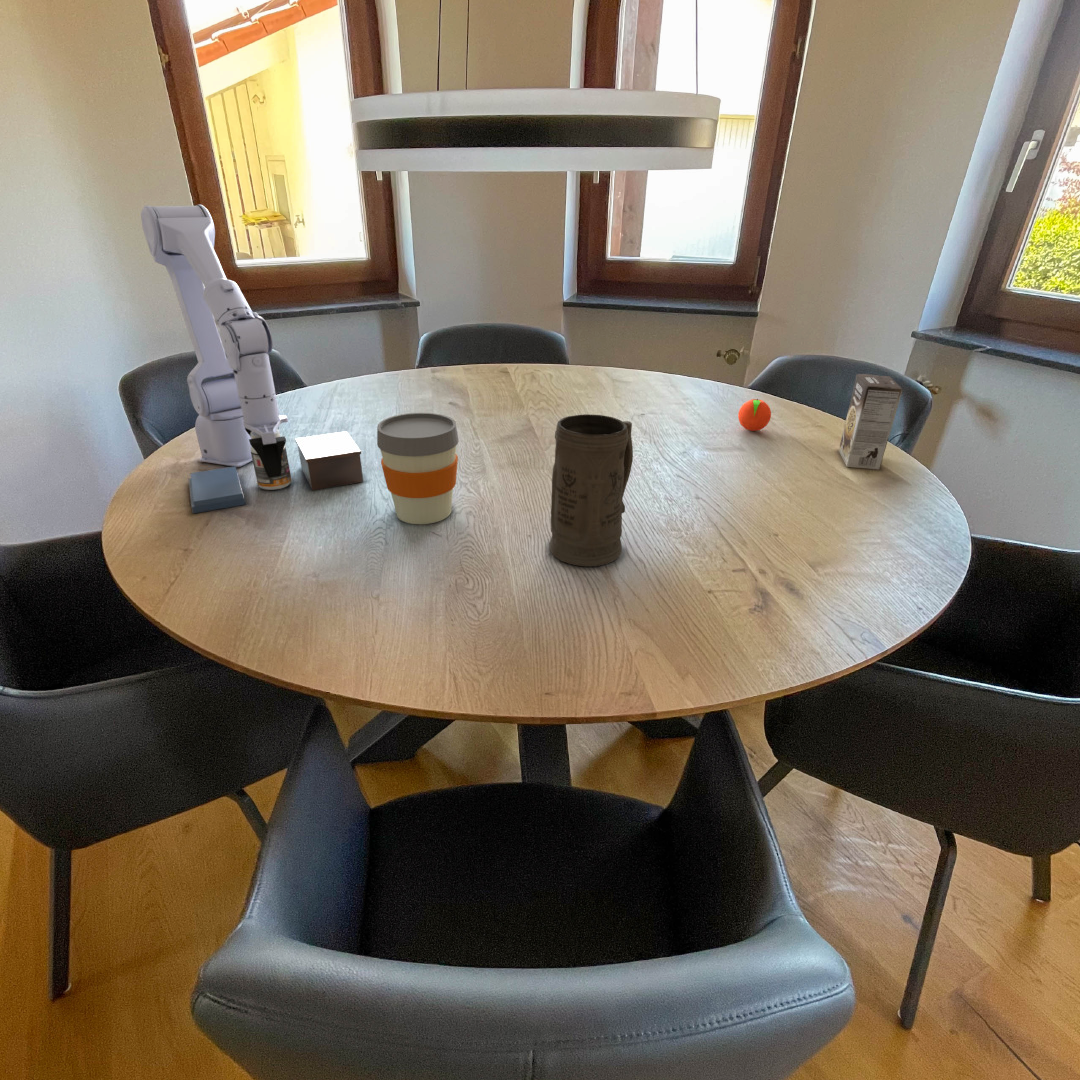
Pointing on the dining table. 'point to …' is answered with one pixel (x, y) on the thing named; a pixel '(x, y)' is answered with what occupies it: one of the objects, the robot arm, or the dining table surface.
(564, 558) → the beer stein
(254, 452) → the pill bottle
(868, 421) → the coffee box
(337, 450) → the walnut box
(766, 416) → the clementine
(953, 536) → the dining table surface
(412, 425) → the reusable coffee cup
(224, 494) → the blue flat block
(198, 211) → the robot arm
